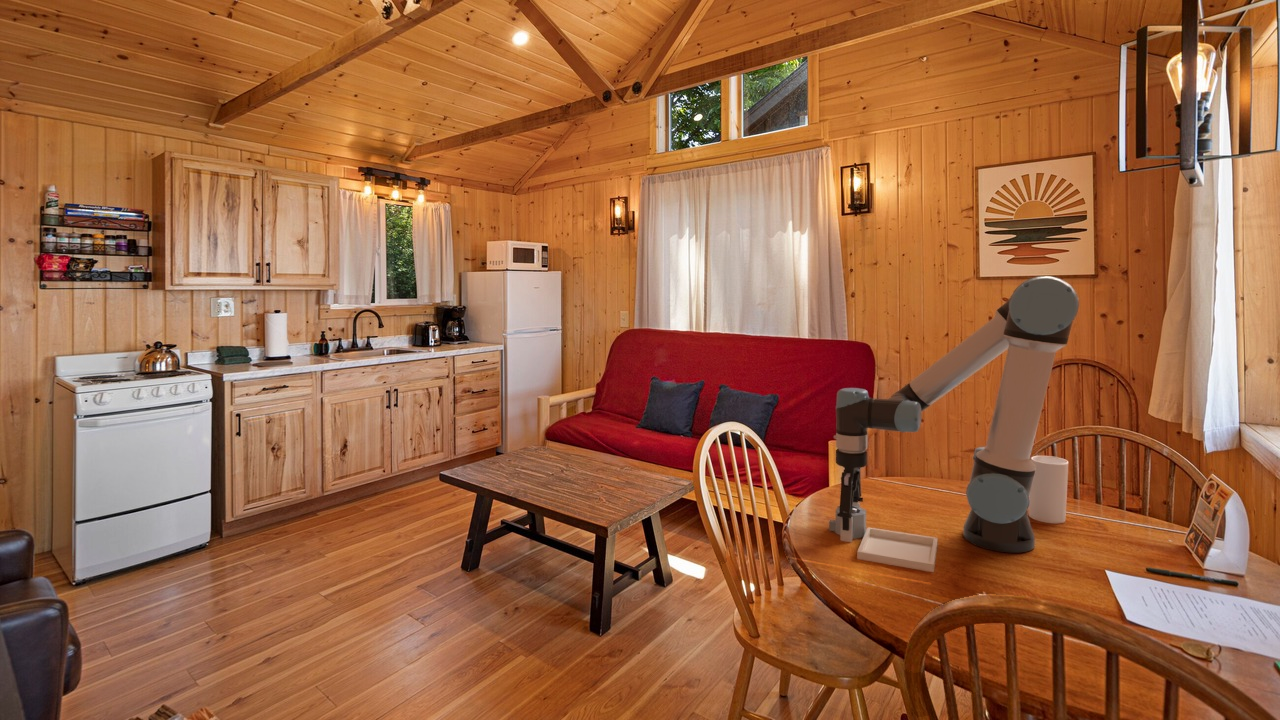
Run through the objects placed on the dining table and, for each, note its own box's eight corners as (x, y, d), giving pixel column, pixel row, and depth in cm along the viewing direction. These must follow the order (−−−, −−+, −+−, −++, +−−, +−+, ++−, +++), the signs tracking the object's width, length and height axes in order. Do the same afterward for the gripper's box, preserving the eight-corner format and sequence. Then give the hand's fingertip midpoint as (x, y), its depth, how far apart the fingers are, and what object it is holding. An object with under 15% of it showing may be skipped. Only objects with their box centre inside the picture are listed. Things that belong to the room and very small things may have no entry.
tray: (937, 546, 147) (937, 537, 147) (933, 574, 133) (933, 564, 133) (867, 535, 154) (867, 527, 154) (857, 560, 140) (857, 551, 140)
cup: (1071, 524, 158) (1074, 464, 156) (1036, 522, 159) (1039, 463, 158) (1056, 512, 166) (1059, 456, 164) (1023, 511, 167) (1025, 455, 166)
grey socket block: (867, 530, 157) (867, 507, 156) (862, 540, 151) (863, 516, 150) (832, 524, 161) (832, 503, 160) (826, 534, 155) (827, 511, 154)
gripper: (844, 437, 165) (843, 516, 167) (826, 459, 145) (825, 547, 147) (873, 440, 161) (872, 520, 164) (859, 462, 141) (858, 553, 144)
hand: (850, 533), depth 155 cm, fingers open, 10 cm apart
